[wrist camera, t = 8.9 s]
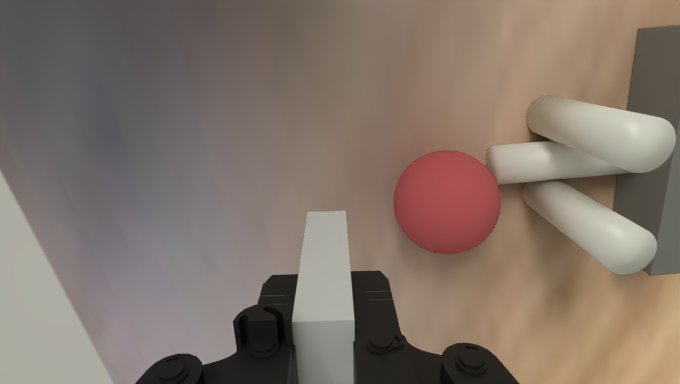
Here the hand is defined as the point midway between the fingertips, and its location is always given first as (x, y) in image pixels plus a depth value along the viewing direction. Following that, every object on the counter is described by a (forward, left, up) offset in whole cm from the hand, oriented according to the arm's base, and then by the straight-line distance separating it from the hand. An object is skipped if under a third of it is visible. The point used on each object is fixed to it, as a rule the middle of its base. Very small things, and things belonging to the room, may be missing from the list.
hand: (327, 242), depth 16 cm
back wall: (+13, +15, -10) cm, 22 cm away
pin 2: (+11, +9, -10) cm, 17 cm away
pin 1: (+7, +12, -10) cm, 17 cm away
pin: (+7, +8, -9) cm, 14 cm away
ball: (+6, +4, -7) cm, 10 cm away
